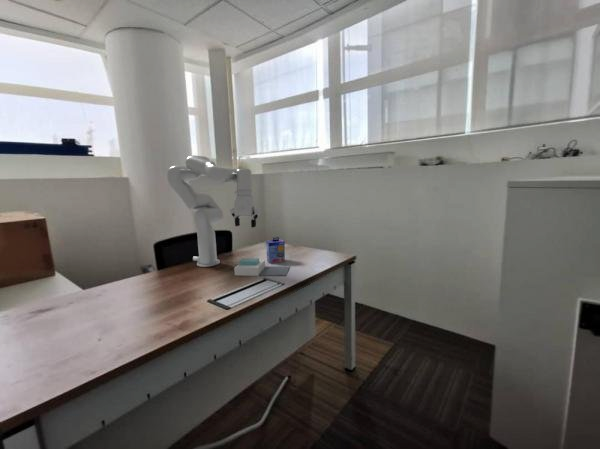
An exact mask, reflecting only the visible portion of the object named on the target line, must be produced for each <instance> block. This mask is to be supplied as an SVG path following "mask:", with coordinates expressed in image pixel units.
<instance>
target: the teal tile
mask: <svg viewBox="0 0 600 449" xmlns="http://www.w3.org/2000/svg"><path fill="white" fill-rule="evenodd" d="M259 260H260V258H259V257H258V258H257V257H256V258H255V257H254V258H253V257H252V258H251V257H245V258H244V257H242V258H240V259H239V260H238V264H239V265H257V264H258V263H259Z"/></svg>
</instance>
